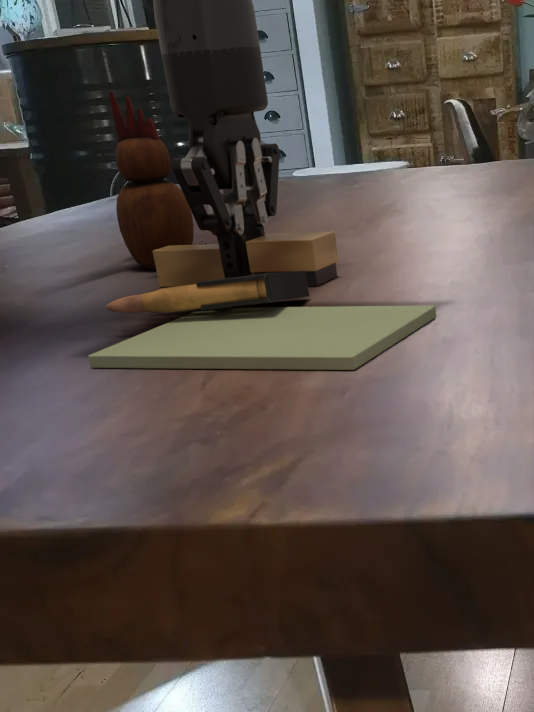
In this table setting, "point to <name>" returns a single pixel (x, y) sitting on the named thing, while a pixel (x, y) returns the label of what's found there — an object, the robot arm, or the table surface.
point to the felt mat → (268, 338)
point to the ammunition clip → (218, 294)
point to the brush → (252, 258)
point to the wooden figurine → (147, 189)
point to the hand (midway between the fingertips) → (248, 277)
